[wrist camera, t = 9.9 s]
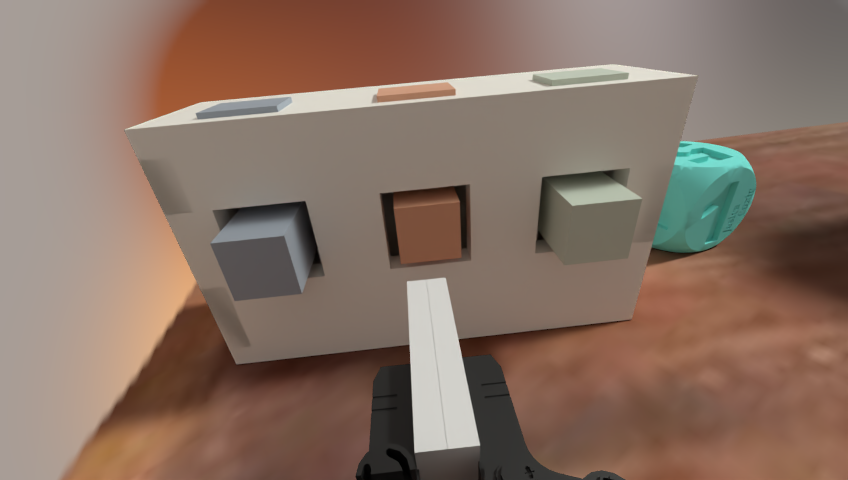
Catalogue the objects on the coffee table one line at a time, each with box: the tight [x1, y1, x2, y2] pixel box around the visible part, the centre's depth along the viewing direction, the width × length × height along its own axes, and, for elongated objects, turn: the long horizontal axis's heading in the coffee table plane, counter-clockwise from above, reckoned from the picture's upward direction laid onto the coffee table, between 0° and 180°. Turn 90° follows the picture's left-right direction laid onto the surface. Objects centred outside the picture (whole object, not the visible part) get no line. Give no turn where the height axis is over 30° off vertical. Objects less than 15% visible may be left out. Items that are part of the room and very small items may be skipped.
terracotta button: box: [393, 186, 462, 264], centre depth 23 cm, size 4×5×4 cm
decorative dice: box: [652, 141, 756, 253], centre depth 34 cm, size 8×8×8 cm
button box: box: [124, 64, 698, 364], centre depth 25 cm, size 28×8×16 cm, turn 94°
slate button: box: [210, 201, 318, 301], centre depth 21 cm, size 4×5×4 cm
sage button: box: [537, 171, 642, 265], centre depth 21 cm, size 4×5×4 cm
